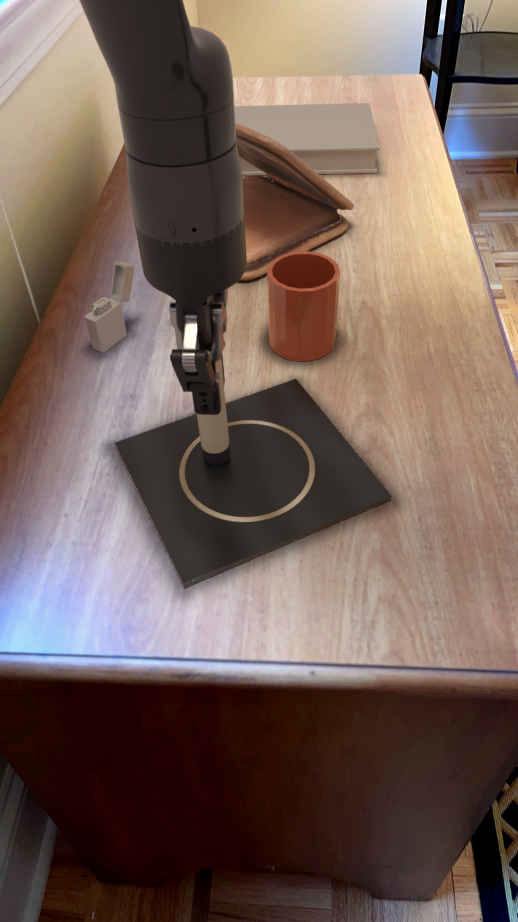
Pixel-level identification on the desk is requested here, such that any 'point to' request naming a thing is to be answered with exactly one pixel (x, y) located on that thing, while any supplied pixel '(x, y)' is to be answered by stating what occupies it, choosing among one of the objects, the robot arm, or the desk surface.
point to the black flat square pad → (248, 481)
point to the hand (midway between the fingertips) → (210, 398)
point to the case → (284, 203)
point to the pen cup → (303, 305)
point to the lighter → (111, 310)
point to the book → (317, 135)
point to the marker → (215, 431)
